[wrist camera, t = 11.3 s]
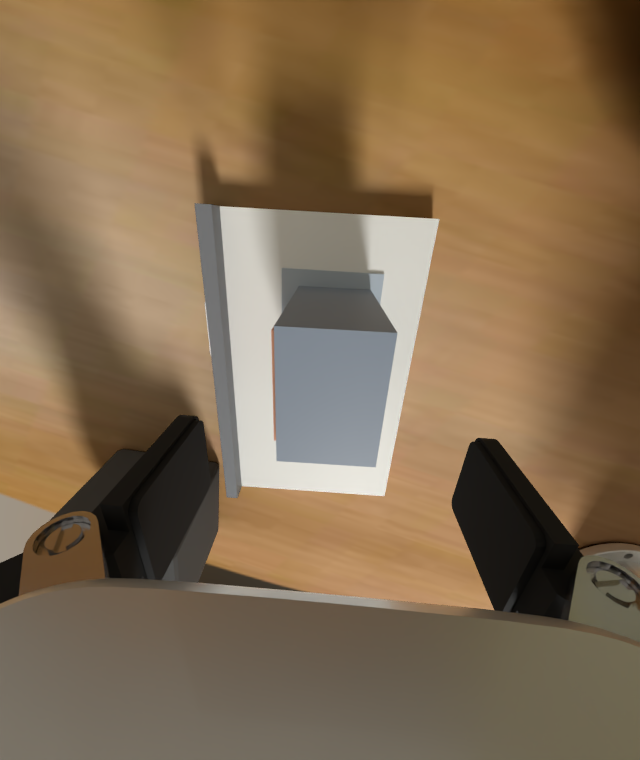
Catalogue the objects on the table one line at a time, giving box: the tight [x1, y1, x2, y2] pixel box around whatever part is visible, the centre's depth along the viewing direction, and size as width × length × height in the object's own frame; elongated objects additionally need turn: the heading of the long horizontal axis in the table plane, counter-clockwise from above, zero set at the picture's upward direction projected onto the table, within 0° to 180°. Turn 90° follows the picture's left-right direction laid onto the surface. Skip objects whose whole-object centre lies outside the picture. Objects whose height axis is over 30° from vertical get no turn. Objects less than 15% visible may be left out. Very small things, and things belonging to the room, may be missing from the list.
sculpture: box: [51, 449, 219, 583], centre depth 20 cm, size 10×10×30 cm
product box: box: [271, 286, 397, 467], centre depth 18 cm, size 5×7×10 cm
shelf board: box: [195, 203, 439, 498], centre depth 25 cm, size 24×15×3 cm, turn 177°
